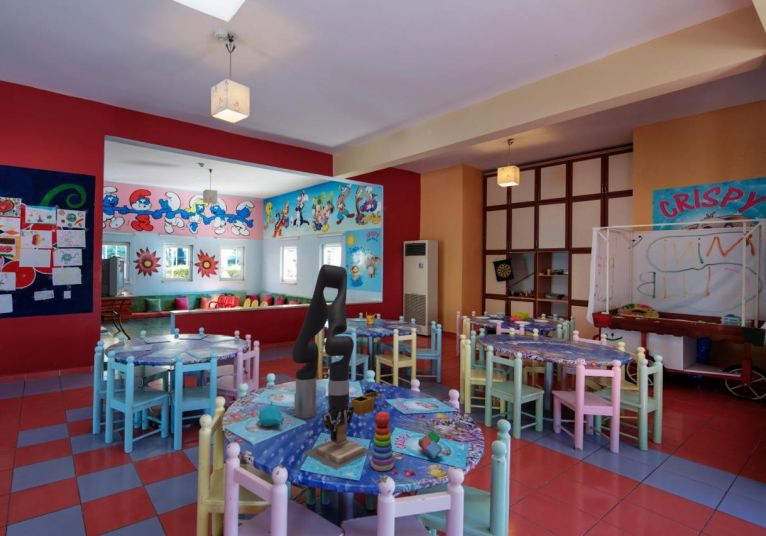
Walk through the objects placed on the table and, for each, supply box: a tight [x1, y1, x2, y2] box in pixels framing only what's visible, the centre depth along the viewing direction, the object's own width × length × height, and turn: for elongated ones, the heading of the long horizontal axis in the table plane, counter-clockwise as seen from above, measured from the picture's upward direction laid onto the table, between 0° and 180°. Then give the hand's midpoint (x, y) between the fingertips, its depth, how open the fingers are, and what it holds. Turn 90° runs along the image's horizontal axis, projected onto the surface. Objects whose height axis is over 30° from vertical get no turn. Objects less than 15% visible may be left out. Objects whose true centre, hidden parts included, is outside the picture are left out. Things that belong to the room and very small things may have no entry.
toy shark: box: [257, 401, 285, 427], centre depth 173 cm, size 10×18×11 cm, turn 49°
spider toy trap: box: [350, 388, 382, 416], centre depth 195 cm, size 6×15×9 cm, turn 140°
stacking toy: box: [370, 411, 395, 472], centre depth 140 cm, size 8×8×19 cm
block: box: [330, 420, 348, 444], centre depth 149 cm, size 4×4×6 cm
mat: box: [302, 440, 372, 470], centre depth 149 cm, size 18×18×1 cm
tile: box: [317, 439, 365, 464], centre depth 148 cm, size 2×12×12 cm
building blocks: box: [417, 429, 442, 460], centre depth 150 cm, size 8×8×12 cm
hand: (338, 438), depth 149 cm, fingers closed on block, 4 cm apart
